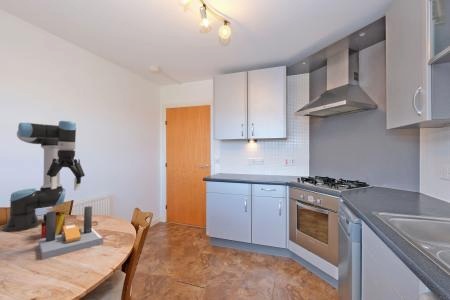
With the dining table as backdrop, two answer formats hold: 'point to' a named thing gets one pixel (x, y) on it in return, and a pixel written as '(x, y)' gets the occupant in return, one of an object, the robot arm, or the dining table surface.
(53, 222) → the cylinder
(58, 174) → the robot arm
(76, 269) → the dining table surface
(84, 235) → the panel
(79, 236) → the paddle
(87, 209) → the post
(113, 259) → the dining table surface
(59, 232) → the mug
